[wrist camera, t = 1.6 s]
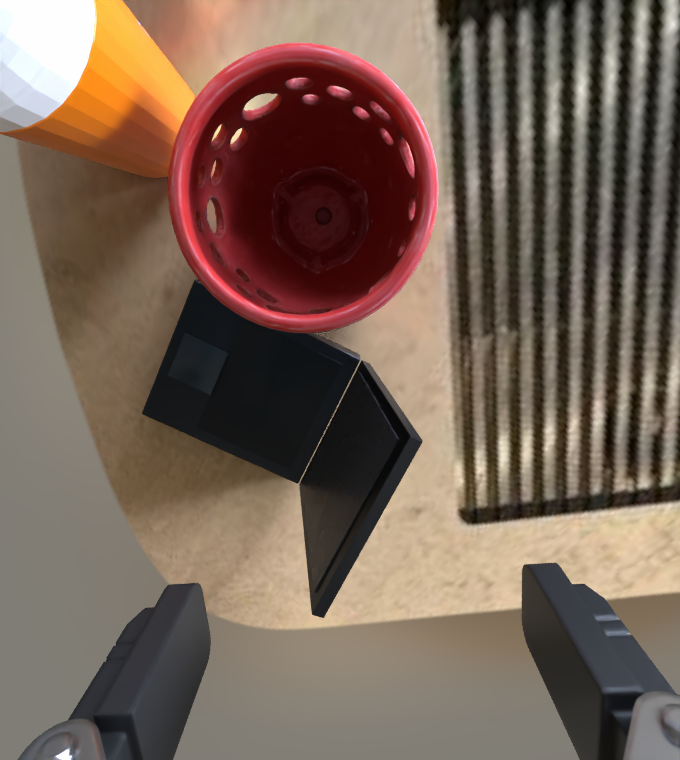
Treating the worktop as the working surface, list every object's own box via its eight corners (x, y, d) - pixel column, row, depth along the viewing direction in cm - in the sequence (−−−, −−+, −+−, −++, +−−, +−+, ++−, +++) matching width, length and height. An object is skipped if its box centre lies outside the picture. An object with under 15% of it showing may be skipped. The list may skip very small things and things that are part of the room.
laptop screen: (309, 614, 24) (323, 618, 25) (408, 435, 22) (423, 441, 22) (297, 484, 37) (307, 487, 37) (360, 359, 34) (370, 363, 34)
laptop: (151, 406, 37) (140, 414, 35) (202, 278, 35) (193, 280, 33) (300, 474, 38) (297, 484, 37) (360, 354, 36) (360, 359, 34)
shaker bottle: (222, 189, 33) (41, 86, 14) (98, 195, 34) (-250, 103, 14) (208, 45, 31) (-29, -316, 12) (76, 53, 31) (-370, -286, 12)
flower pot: (404, 107, 32) (435, 17, 20) (415, 303, 35) (447, 324, 23) (213, 128, 32) (136, 53, 21) (241, 319, 35) (187, 347, 24)
